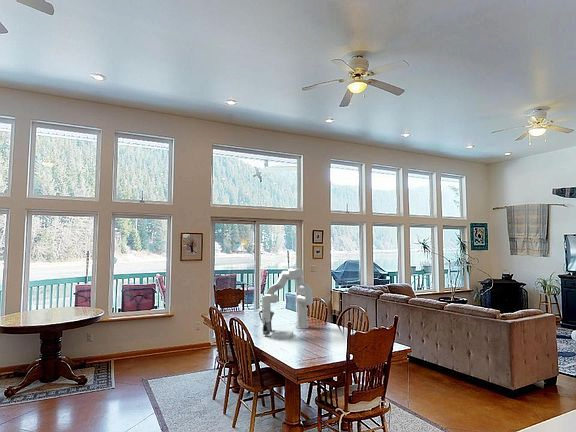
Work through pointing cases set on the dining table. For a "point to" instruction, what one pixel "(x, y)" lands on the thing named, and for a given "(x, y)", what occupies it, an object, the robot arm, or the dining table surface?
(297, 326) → the robot arm
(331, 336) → the dining table surface
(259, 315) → the moka pot
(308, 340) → the dining table surface
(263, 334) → the end cover
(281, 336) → the housing
